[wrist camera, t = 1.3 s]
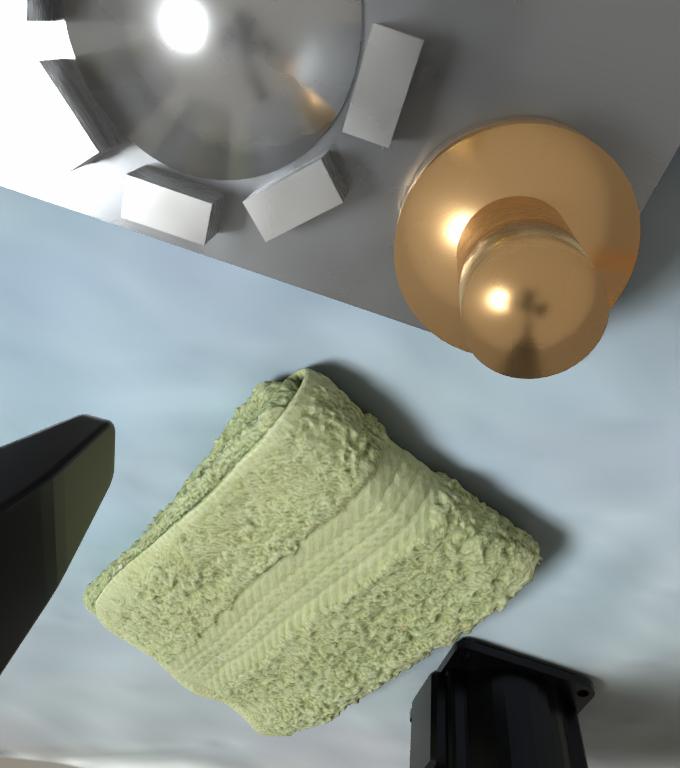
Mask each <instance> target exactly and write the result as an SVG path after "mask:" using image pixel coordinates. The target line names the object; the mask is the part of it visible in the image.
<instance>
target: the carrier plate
mask: <svg viewBox="0 0 680 768" xmlns="http://www.w3.org/2000/svg"><path fill="white" fill-rule="evenodd" d="M507 116H535V117H543V118H547V119H550V120H554V121H558V122H560V123H563V124H565V125H567V126H569V127H572V128H574V129H575V130H577V131H578V132H580V133H581V134H583V135H584V136H586V137H587V138H589V139H590V140H591V141H593V142H594V143H595V144H597V145H598V146H599V147H600V148H602V149H603V150H604V151H605V152H606V153H607V154H608V155H609V156H611V157H612V158H613V160H614V161H615V162H616V163H617V164H618V166H619V167H620V168H621V169H622V170H623V172H624V174H625V176H626V177H627V179H628V181H629V182H630V184H631V187H632V189H633V192H634V194H635V197H636V199H637V204H638V209H639V213H640V214H641V212H642V211H643V209H644V207H645V205H646V204H647V202H648V200H649V198H650V197H651V195H652V193H653V191H654V190H655V188H656V186H657V184H658V183H659V181H660V179H661V177H662V176H663V174H664V172H665V170H666V169H667V167H668V165H669V163H670V162H671V160H672V158H673V156H674V155H675V153H676V151H677V149H678V148H679V146H680V0H0V186H3V187H6V188H9V189H12V190H15V191H18V192H21V193H24V194H27V195H30V196H33V197H36V198H39V199H41V200H44V201H47V202H50V203H53V204H56V205H59V206H62V207H65V208H68V209H71V210H74V211H77V212H80V213H83V214H86V215H88V216H91V217H94V218H97V219H100V220H103V221H106V222H109V223H112V224H115V225H118V226H121V227H124V228H127V229H130V230H132V231H135V232H138V233H141V234H144V235H147V236H150V237H153V238H156V239H159V240H162V241H165V242H168V243H171V244H174V245H177V246H179V247H182V248H185V249H188V250H191V251H194V252H197V253H200V254H203V255H206V256H209V257H212V258H215V259H218V260H221V261H223V262H226V263H229V264H232V265H235V266H238V267H241V268H244V269H247V270H250V271H253V272H256V273H259V274H262V275H265V276H268V277H270V278H273V279H276V280H279V281H282V282H285V283H288V284H291V285H294V286H297V287H300V288H303V289H306V290H309V291H312V292H315V293H317V294H320V295H323V296H326V297H329V298H332V299H335V300H338V301H341V302H344V303H347V304H350V305H353V306H356V307H359V308H361V309H364V310H367V311H370V312H373V313H376V314H379V315H382V316H385V317H388V318H391V319H394V320H397V321H400V322H403V323H406V324H408V325H411V326H414V327H417V328H420V329H423V330H426V331H429V330H428V329H427V328H426V327H425V326H424V325H423V324H422V323H421V322H420V321H419V320H418V318H417V317H416V316H415V315H414V313H413V312H412V311H411V309H410V307H409V306H408V304H407V302H406V301H405V299H404V296H403V294H402V292H401V289H400V287H399V283H398V280H397V276H396V272H395V264H394V240H395V233H396V227H397V222H398V218H399V213H400V209H401V206H402V202H403V199H404V196H405V194H406V192H407V189H408V187H409V185H410V183H411V181H412V179H413V178H414V176H415V174H416V173H417V171H418V170H419V168H420V167H421V166H422V165H423V163H424V162H425V161H426V159H427V158H428V157H429V156H430V155H431V154H432V153H433V152H434V151H435V150H436V149H437V148H438V147H440V146H441V145H442V144H443V143H445V142H446V141H447V140H448V139H450V138H451V137H453V136H455V135H456V134H458V133H460V132H461V131H463V130H465V129H467V128H469V127H471V126H474V125H476V124H478V123H481V122H484V121H488V120H491V119H495V118H501V117H507ZM429 332H430V331H429Z"/></svg>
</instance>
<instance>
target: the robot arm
mask: <svg viewBox="0 0 680 768" xmlns="http://www.w3.org/2000/svg"><path fill="white" fill-rule="evenodd" d="M114 457H115V427H114V424H113V423H112V422H111V421H109V420H106V419H102V418H98V417H94V416H91V415H86V414H81V415H77V416H75V417H72V418H70V419H67V420H65V421H62V422H60V423H58V424H55V425H53V426H50V427H48V428H45V429H43V430H41V431H38V432H36V433H33V434H31V435H28V436H26V437H24V438H21V439H19V440H16V441H14V442H11V443H9V444H6V445H4V446H2V447H0V675H1V673H2V672H3V670H4V669H5V667H6V666H7V664H8V663H9V661H10V660H11V658H12V656H13V655H14V653H15V652H16V650H17V649H18V647H19V646H20V644H21V643H22V641H23V640H24V638H25V637H26V635H27V634H28V632H29V631H30V629H31V628H32V626H33V625H34V623H35V622H36V620H37V619H38V617H39V616H40V614H41V613H42V611H43V610H44V608H45V607H46V605H47V603H48V602H49V600H50V599H51V597H52V595H53V594H54V592H55V591H56V589H57V587H58V586H59V584H60V582H61V580H62V578H63V576H64V574H65V573H66V571H67V569H68V567H69V565H70V563H71V561H72V559H73V557H74V555H75V553H76V551H77V549H78V547H79V545H80V543H81V541H82V539H83V537H84V535H85V533H86V532H87V530H88V528H89V526H90V524H91V522H92V520H93V518H94V516H95V514H96V512H97V510H98V508H99V506H100V504H101V502H102V500H103V498H104V496H105V494H106V492H107V490H108V488H109V486H110V484H111V481H112V478H113V473H114ZM594 695H595V692H594V687H593V683H592V682H591V681H590V680H588V679H586V678H583V677H580V676H577V675H573V674H570V673H567V672H564V671H561V670H558V669H555V668H552V667H549V666H546V665H543V664H539V663H536V662H533V661H530V660H527V659H524V658H521V657H518V656H515V655H512V654H509V653H505V652H502V651H499V650H496V649H493V648H490V647H487V646H484V645H481V644H478V643H475V642H472V641H468V640H460V641H457V642H456V643H455V644H454V645H453V647H452V648H451V650H450V651H449V653H448V654H447V656H446V657H445V659H444V660H443V662H442V663H441V665H440V666H439V668H438V669H437V670H435V671H434V672H432V673H431V674H430V675H429V677H428V678H427V680H426V681H425V683H424V685H423V686H422V688H421V689H420V691H419V692H418V694H417V695H416V697H415V698H414V700H413V702H412V709H411V711H410V721H411V723H412V725H411V750H410V768H588V764H587V759H586V754H585V749H584V744H583V739H582V734H581V729H580V724H579V719H578V713H579V712H580V711H581V710H582V709H583V708H584V707H585V705H586V704H587V703H588V702H589V701H590V700H591V699H592V698H593V697H594Z"/></svg>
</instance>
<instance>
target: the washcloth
mask: <svg viewBox="0 0 680 768" xmlns="http://www.w3.org/2000/svg"><path fill="white" fill-rule="evenodd" d="M214 442H215V445H214V447H213V448H212V450H211V453H210V455H209V456H208V457H207V458H205V459H204V460H203V461H202V463H201V464H200V465H199V466H198V467H197V468H196V469H195V471H194V472H193V473H191V475H190V477H189V479H188V480H186V481H185V482H184V485H183V487H182V488H181V490H180V492H178V493H177V494H176V497H175V500H174V502H173V503H169V504H168V506H166V507H165V511H161V510H160V511H159V512H158V513H157V517H153V522H154V524H153V525H152V524H148V525H147V526H148V528H149V530H148V531H144V532H143V533H142V536H141V538H140V539H139V540H137V541H135V542H134V543H133V545H132V547H131V548H130V549H128V550H127V551H126V552H122V554H123V555H120V557H119V558H118V559H117V560H115V561H113V562H112V563H110V565H109V567H108V568H107V570H103V571H102V573H101V574H100V576H98V577H97V578H96V579H95V580H94V581H92V583H89V584H88V585H87V589H86V590H85V592H84V594H83V601H84V603H85V605H86V608H87V609H88V610H89V611H90V612H91V613H92V614H94V615H95V616H96V617H98V619H99V620H100V622H101V623H102V624H103V625H104V626H105V627H106V628H107V629H108V630H109V631H111V632H112V633H113V634H115V635H116V636H118V637H120V638H122V639H124V640H126V641H127V642H129V643H130V644H132V645H133V646H135V647H137V648H139V649H140V650H141V651H143V652H144V653H146V654H147V655H149V656H151V657H152V658H154V659H155V660H156V661H157V662H158V663H159V664H160V665H161V666H162V667H163V668H164V669H165V670H166V671H167V672H168V673H169V674H170V675H171V676H172V677H173V678H175V679H176V680H177V681H178V682H180V683H181V684H182V685H183V686H184V687H186V688H188V689H189V690H190V691H191V692H193V693H195V694H197V695H200V696H204V697H207V698H211V699H215V700H218V701H221V702H223V703H225V704H227V705H228V706H230V707H231V708H233V709H234V710H235V711H237V712H238V713H239V714H240V715H242V716H243V717H244V719H245V720H246V721H247V722H248V723H249V724H250V725H251V726H252V728H253V729H254V730H255V731H257V732H258V733H259V734H262V735H267V736H291V735H292V734H293V733H295V732H296V731H297V730H299V731H301V730H303V729H308V728H311V727H315V726H316V725H318V724H319V723H320V722H321V723H322V724H326V723H328V722H329V721H332V720H333V719H334V718H335V717H337V716H339V714H340V712H341V711H344V710H345V709H346V708H347V705H351V704H352V703H355V704H357V703H359V698H362V697H364V696H365V695H367V694H368V693H371V692H373V691H374V690H376V689H378V688H380V687H381V686H382V685H383V684H384V683H386V682H388V681H389V680H390V679H391V678H393V679H394V678H397V677H398V674H399V673H400V672H401V671H402V670H406V669H410V668H411V667H412V666H413V664H415V663H418V662H419V661H420V660H421V659H424V658H425V657H429V656H430V651H432V650H433V649H437V648H440V647H448V646H452V645H453V644H454V643H455V642H456V641H457V640H458V638H459V636H460V635H461V633H464V634H469V633H471V631H472V629H473V628H474V627H475V626H476V625H477V624H478V623H479V622H482V621H484V620H485V618H486V617H488V616H489V615H490V614H491V613H493V612H494V611H495V610H498V611H503V609H504V608H505V607H506V604H507V602H508V600H509V599H510V598H512V597H514V596H516V593H518V592H520V590H521V589H522V587H524V586H525V585H526V584H528V583H529V582H530V581H532V580H533V574H534V571H535V567H536V565H540V563H539V560H543V559H542V558H541V557H540V556H539V552H540V551H539V550H540V547H539V544H538V543H537V542H536V541H534V539H532V536H531V535H530V534H528V533H527V532H526V531H524V530H522V529H520V528H518V527H514V526H513V524H512V522H510V521H509V520H508V519H507V518H506V517H505V516H500V515H499V513H498V512H497V511H496V510H493V509H492V508H490V507H489V506H486V503H484V502H482V503H480V502H479V500H478V498H477V497H474V496H473V495H472V494H471V493H469V492H468V491H466V490H464V489H463V487H462V486H461V485H460V484H459V482H458V481H457V480H456V479H451V478H450V477H449V476H447V474H446V473H442V472H439V471H438V472H433V471H431V470H430V469H429V468H428V467H427V466H426V465H425V464H424V463H423V462H421V461H419V460H417V459H416V458H415V457H414V456H413V455H412V454H411V453H409V452H408V451H406V450H404V449H402V448H400V447H399V446H398V445H396V444H395V443H394V442H393V441H391V440H390V438H389V437H388V436H387V434H386V429H385V426H384V425H383V424H382V423H380V422H378V419H377V417H374V416H372V414H371V413H366V414H363V413H362V411H361V410H360V408H359V407H358V406H357V405H356V404H355V403H354V402H351V400H350V399H349V398H348V396H347V394H346V393H344V392H343V391H341V390H339V389H338V388H337V386H336V385H335V384H334V383H333V382H332V381H331V380H330V379H329V378H328V377H326V376H324V375H323V374H322V373H317V372H315V371H313V370H311V369H308V368H305V369H299V370H298V371H297V372H295V373H294V374H292V375H291V376H288V377H287V378H286V379H285V380H284V381H283V382H277V381H265V382H263V383H261V384H258V385H257V386H256V387H255V388H254V389H253V395H252V397H250V398H248V399H247V403H245V404H243V405H241V407H239V408H235V411H234V418H232V419H231V420H230V422H228V423H227V424H226V429H224V430H223V432H222V435H221V436H220V437H219V438H218V439H217V440H215V441H214Z"/></svg>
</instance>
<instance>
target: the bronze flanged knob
mask: <svg viewBox="0 0 680 768" xmlns="http://www.w3.org/2000/svg"><path fill="white" fill-rule="evenodd" d="M640 236H641V224H640V213H639V209H638V204H637V199H636V197H635V194H634V192H633V189H632V187H631V184H630V182H629V181H628V179H627V177H626V176H625V174H624V172H623V170H622V169H621V168H620V167H619V166H618V164H617V163H616V162H615V161H614V160H613V158H612V157H611V156H609V155H608V154H607V153H606V152H605V151H604V150H603V149H602V148H600V147H599V146H598V145H597V144H595V143H594V142H593V141H591V140H590V139H589V138H587V137H586V136H584V135H583V134H581V133H580V132H578V131H577V130H575V129H574V128H572V127H569V126H567V125H565V124H563V123H560V122H558V121H554V120H550V119H547V118H543V117H535V116H507V117H501V118H495V119H491V120H488V121H484V122H481V123H478V124H476V125H474V126H471V127H469V128H467V129H465V130H463V131H461V132H460V133H458V134H456V135H455V136H453V137H451V138H450V139H448V140H447V141H446V142H445V143H443V144H442V145H441V146H440V147H438V148H437V149H436V150H435V151H434V152H433V153H432V154H431V155H430V156H429V157H428V158H427V159H426V161H425V162H424V163H423V165H422V166H421V167H420V168H419V170H418V171H417V173H416V174H415V176H414V178H413V179H412V181H411V183H410V185H409V187H408V189H407V192H406V194H405V196H404V199H403V202H402V206H401V209H400V213H399V218H398V222H397V227H396V233H395V240H394V264H395V272H396V276H397V280H398V283H399V287H400V289H401V292H402V294H403V296H404V299H405V301H406V302H407V304H408V306H409V307H410V309H411V311H412V312H413V313H414V315H415V316H416V317H417V318H418V320H419V321H420V322H421V323H422V324H423V325H424V326H425V327H426V328H427V329H428V330H429V331H430V332H432V333H433V334H434V335H436V336H437V337H438V338H440V339H441V340H443V341H445V342H447V343H448V344H450V345H452V346H454V347H456V348H459V349H461V350H464V351H466V352H470V353H473V354H474V356H475V357H476V358H477V359H478V360H479V361H480V362H481V363H483V364H484V365H485V366H487V367H488V368H490V369H492V370H493V371H495V372H498V373H500V374H503V375H506V376H510V377H514V378H522V379H534V378H542V377H548V376H551V375H555V374H558V373H560V372H563V371H565V370H567V369H569V368H571V367H573V366H574V365H576V364H577V363H579V362H580V361H581V360H583V359H584V358H585V357H586V356H587V355H588V354H589V353H590V352H591V351H592V350H593V349H594V348H595V346H596V345H597V343H598V342H599V341H600V339H601V337H602V335H603V333H604V331H605V328H606V325H607V322H608V317H609V310H610V309H611V307H612V306H613V305H614V304H615V303H616V301H617V300H618V298H619V297H620V295H621V294H622V292H623V291H624V289H625V287H626V285H627V283H628V281H629V279H630V277H631V275H632V272H633V269H634V267H635V264H636V261H637V256H638V252H639V247H640Z"/></svg>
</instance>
